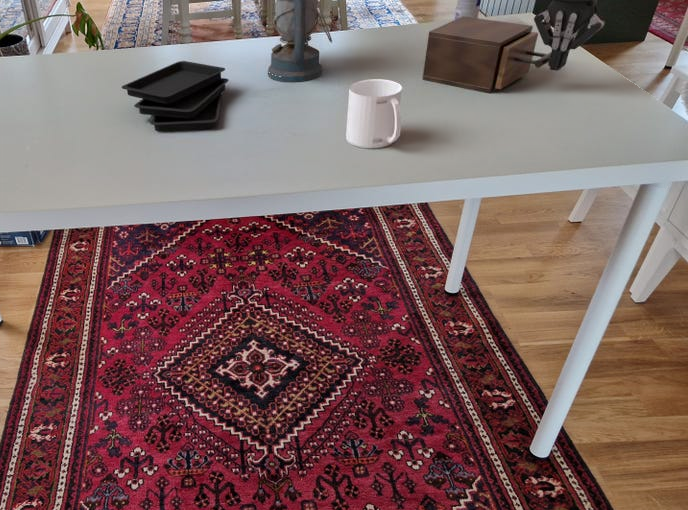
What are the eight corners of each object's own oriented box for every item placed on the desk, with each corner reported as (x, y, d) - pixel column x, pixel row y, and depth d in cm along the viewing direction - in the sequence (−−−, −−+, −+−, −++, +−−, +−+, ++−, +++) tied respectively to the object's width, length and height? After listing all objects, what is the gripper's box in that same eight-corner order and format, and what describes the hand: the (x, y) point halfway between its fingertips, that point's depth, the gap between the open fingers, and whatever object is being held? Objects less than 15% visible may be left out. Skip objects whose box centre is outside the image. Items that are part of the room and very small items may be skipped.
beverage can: (477, 35, 163) (490, -33, 153) (455, 37, 163) (467, -31, 153) (470, 29, 167) (482, -37, 157) (449, 31, 167) (459, -35, 157)
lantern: (264, 62, 158) (263, -84, 139) (322, 58, 158) (329, -89, 138) (271, 88, 144) (270, -71, 124) (335, 84, 143) (344, -77, 123)
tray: (241, 127, 128) (240, 101, 125) (126, 140, 127) (121, 114, 124) (223, 80, 151) (221, 56, 147) (125, 90, 150) (121, 67, 146)
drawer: (555, 77, 134) (567, 36, 129) (527, 94, 128) (538, 52, 123) (465, 61, 146) (472, 23, 140) (436, 76, 139) (442, 37, 134)
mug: (338, 134, 122) (341, 83, 116) (381, 126, 123) (387, 76, 117) (365, 158, 113) (370, 105, 107) (412, 150, 114) (419, 97, 108)
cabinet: (521, 74, 139) (533, 25, 133) (489, 93, 132) (500, 42, 126) (454, 62, 148) (462, 16, 142) (422, 79, 141) (429, 31, 135)
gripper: (537, -30, 118) (514, 68, 130) (613, -23, 111) (581, 80, 122) (555, -38, 122) (531, 58, 133) (629, -32, 114) (597, 70, 126)
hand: (555, 69), depth 128 cm, fingers closed
